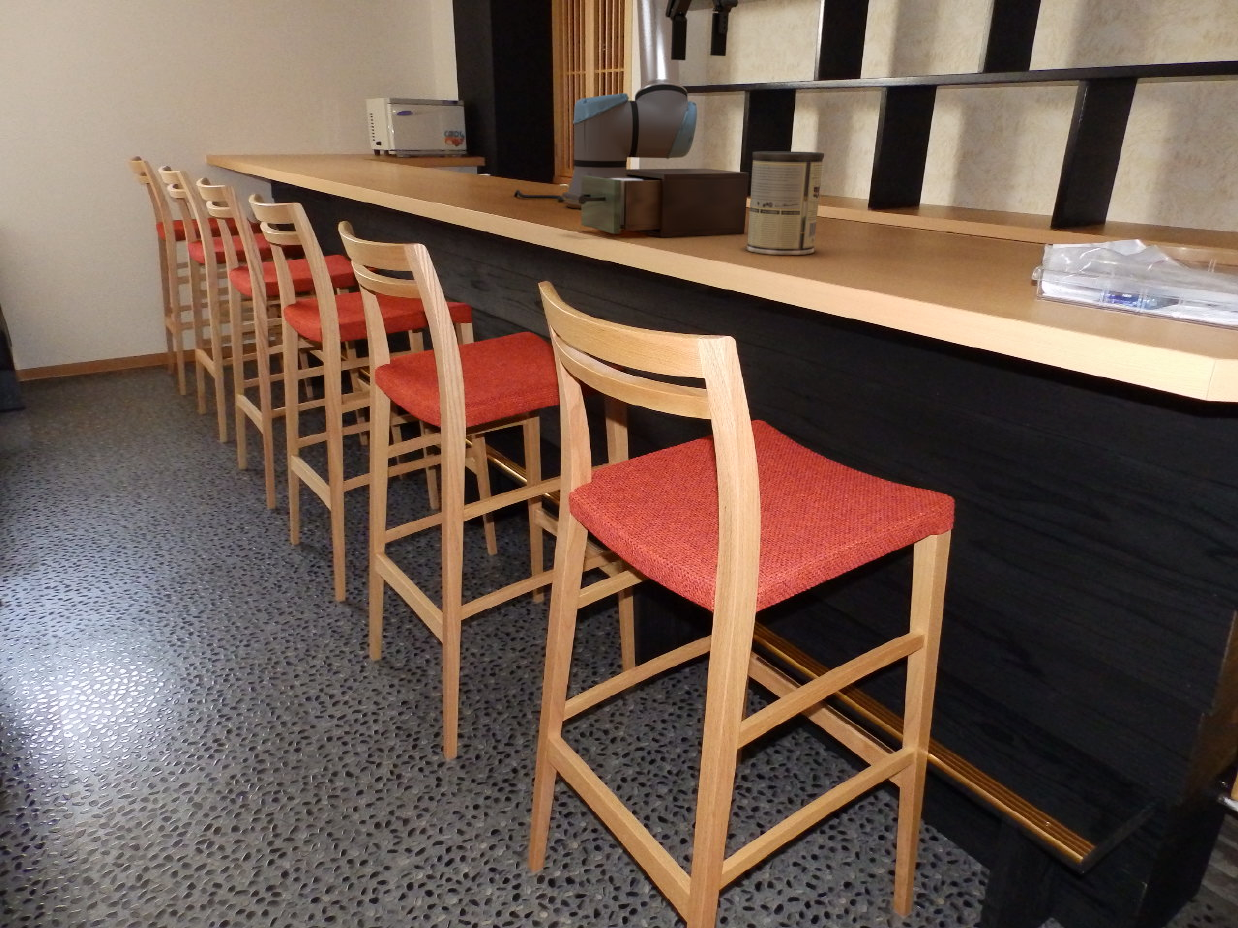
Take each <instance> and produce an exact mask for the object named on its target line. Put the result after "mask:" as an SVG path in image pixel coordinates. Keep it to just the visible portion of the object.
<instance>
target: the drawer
mask: <svg viewBox="0 0 1238 928" xmlns="http://www.w3.org/2000/svg"><path fill="white" fill-rule="evenodd" d="M609 178H638V179H643V180H640V181H624V224H620V215H621V180H616V179H609ZM661 194H662V179H660V178H652V177H645V176H614V177H595V176H588V175H582V176H581V194H574V193H568V191H565V192H563V193H562V195H561V196H562V198H563V200H564V201H563V202H566V201H569V202H574V203H578V204H581V209H580V210H581V211H580V213H581V215H580V216H581V219H580V220H581V221H580V222H581V225H580V226H583V227H586V228H591V229H595V230H598V231H601V232H606V233H611V234H614V235H615V234H616V235H617V234H618V235H619V234H621V231H624V232H627V231H628V232H630V231H634V230H655V229H660V224H661Z"/></svg>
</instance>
